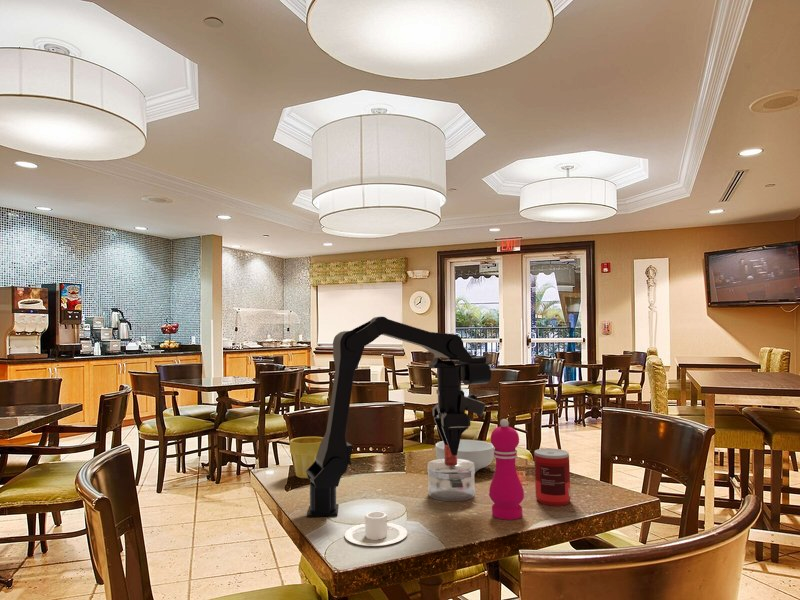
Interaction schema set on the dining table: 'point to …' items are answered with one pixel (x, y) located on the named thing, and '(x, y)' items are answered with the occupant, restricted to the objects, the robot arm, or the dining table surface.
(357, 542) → the candle holder
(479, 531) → the dining table surface
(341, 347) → the robot arm
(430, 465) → the lid
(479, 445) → the cereal bowl
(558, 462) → the canned food
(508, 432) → the pepper mill
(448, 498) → the pot
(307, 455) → the plant pot
